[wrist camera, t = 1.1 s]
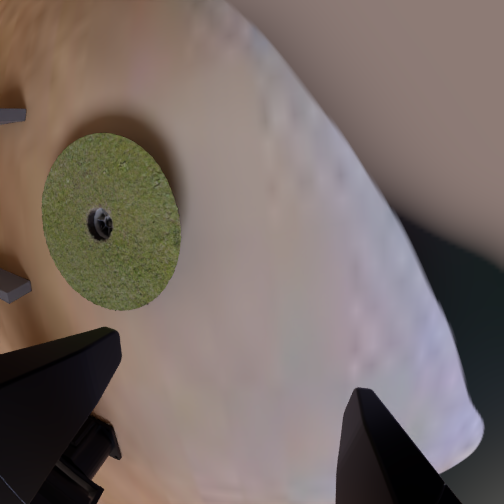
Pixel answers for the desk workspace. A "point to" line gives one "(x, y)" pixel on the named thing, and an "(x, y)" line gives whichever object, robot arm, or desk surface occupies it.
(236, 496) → the desk surface
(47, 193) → the green speckled disc
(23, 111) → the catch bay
